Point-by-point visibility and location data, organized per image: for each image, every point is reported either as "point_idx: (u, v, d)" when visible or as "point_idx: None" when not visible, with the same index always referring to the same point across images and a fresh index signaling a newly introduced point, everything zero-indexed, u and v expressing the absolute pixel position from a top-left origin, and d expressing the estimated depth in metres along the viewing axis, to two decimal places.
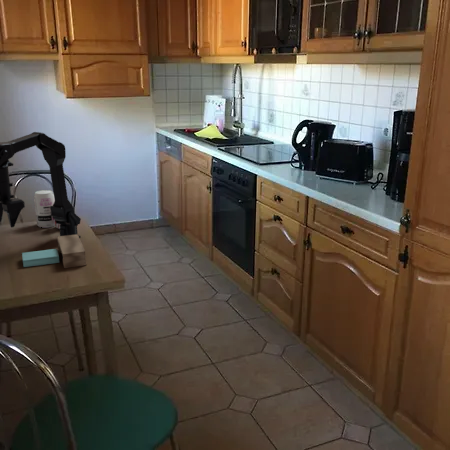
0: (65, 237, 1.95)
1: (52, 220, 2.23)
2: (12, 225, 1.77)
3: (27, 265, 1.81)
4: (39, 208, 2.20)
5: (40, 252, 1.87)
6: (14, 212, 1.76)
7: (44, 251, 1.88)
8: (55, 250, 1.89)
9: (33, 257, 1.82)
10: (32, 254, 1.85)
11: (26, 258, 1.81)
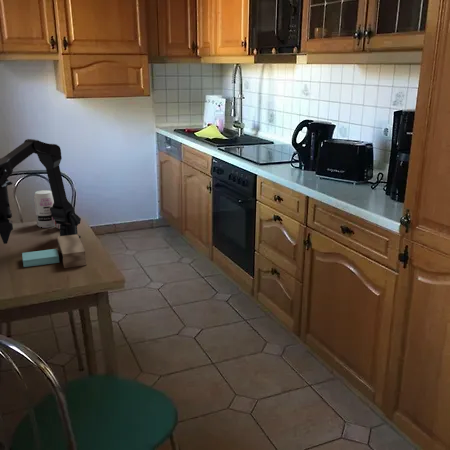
0: (65, 237, 1.95)
1: (52, 220, 2.23)
2: (4, 242, 1.79)
3: (27, 265, 1.81)
4: (39, 208, 2.20)
5: (40, 252, 1.87)
6: None
7: (44, 251, 1.88)
8: (55, 250, 1.89)
9: (33, 257, 1.82)
10: (32, 254, 1.85)
11: (26, 258, 1.81)
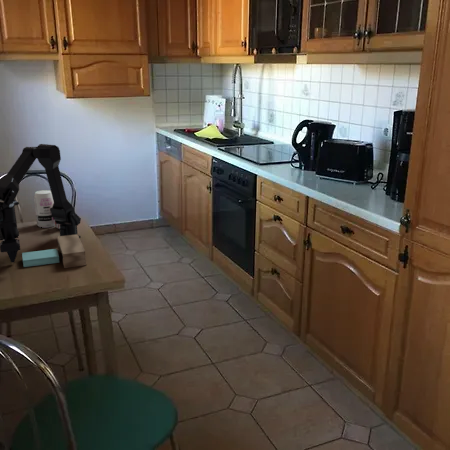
0: (65, 237, 1.95)
1: (52, 220, 2.23)
2: (12, 260, 1.82)
3: (27, 265, 1.81)
4: (39, 208, 2.20)
5: (40, 252, 1.87)
6: None
7: (44, 251, 1.88)
8: (55, 250, 1.89)
9: (33, 257, 1.82)
10: (32, 254, 1.85)
11: (26, 258, 1.81)
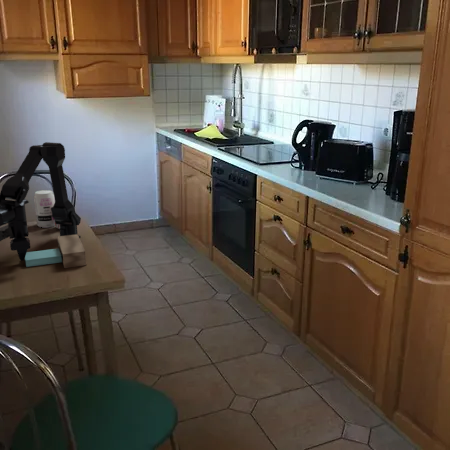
0: (65, 237, 1.95)
1: (52, 220, 2.23)
2: (21, 259, 1.83)
3: (30, 265, 1.81)
4: (39, 208, 2.20)
5: (42, 252, 1.87)
6: None
7: (46, 251, 1.88)
8: (57, 250, 1.90)
9: (36, 257, 1.83)
10: (34, 254, 1.85)
11: (29, 258, 1.82)
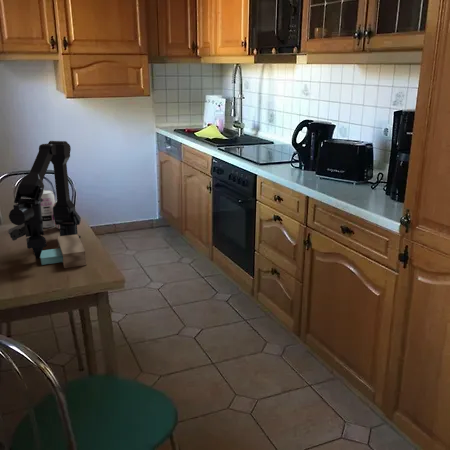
0: (65, 237, 1.95)
1: (52, 220, 2.23)
2: (37, 257, 1.85)
3: (45, 263, 1.83)
4: None
5: (57, 250, 1.89)
6: None
7: None
8: None
9: (51, 255, 1.85)
10: (50, 252, 1.87)
11: (44, 256, 1.84)
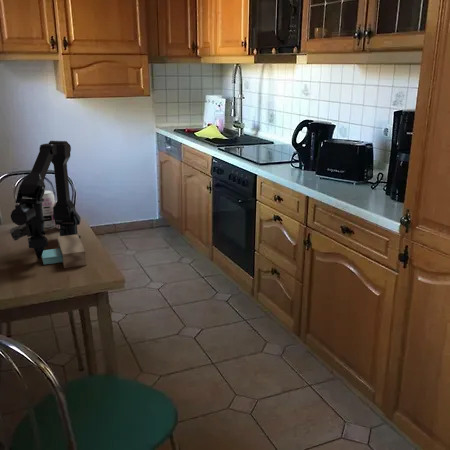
0: (65, 237, 1.95)
1: (52, 220, 2.23)
2: (38, 257, 1.85)
3: (47, 262, 1.83)
4: None
5: (59, 250, 1.90)
6: None
7: None
8: None
9: (53, 255, 1.85)
10: (51, 252, 1.88)
11: (46, 256, 1.84)
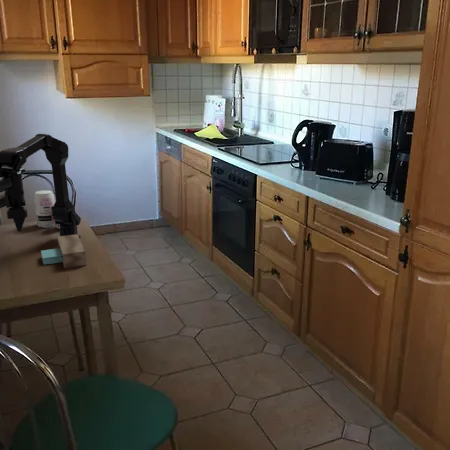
0: (65, 237, 1.95)
1: (52, 220, 2.23)
2: (18, 229, 1.79)
3: (47, 262, 1.83)
4: (39, 208, 2.20)
5: (59, 250, 1.90)
6: None
7: None
8: None
9: (53, 255, 1.85)
10: (51, 252, 1.88)
11: (46, 256, 1.84)
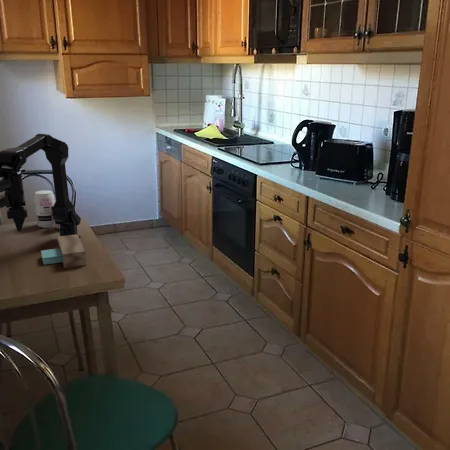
0: (65, 237, 1.95)
1: (52, 220, 2.23)
2: (18, 229, 1.79)
3: (47, 262, 1.83)
4: (39, 208, 2.20)
5: (59, 250, 1.90)
6: None
7: None
8: None
9: (53, 255, 1.85)
10: (51, 252, 1.88)
11: (46, 256, 1.84)
